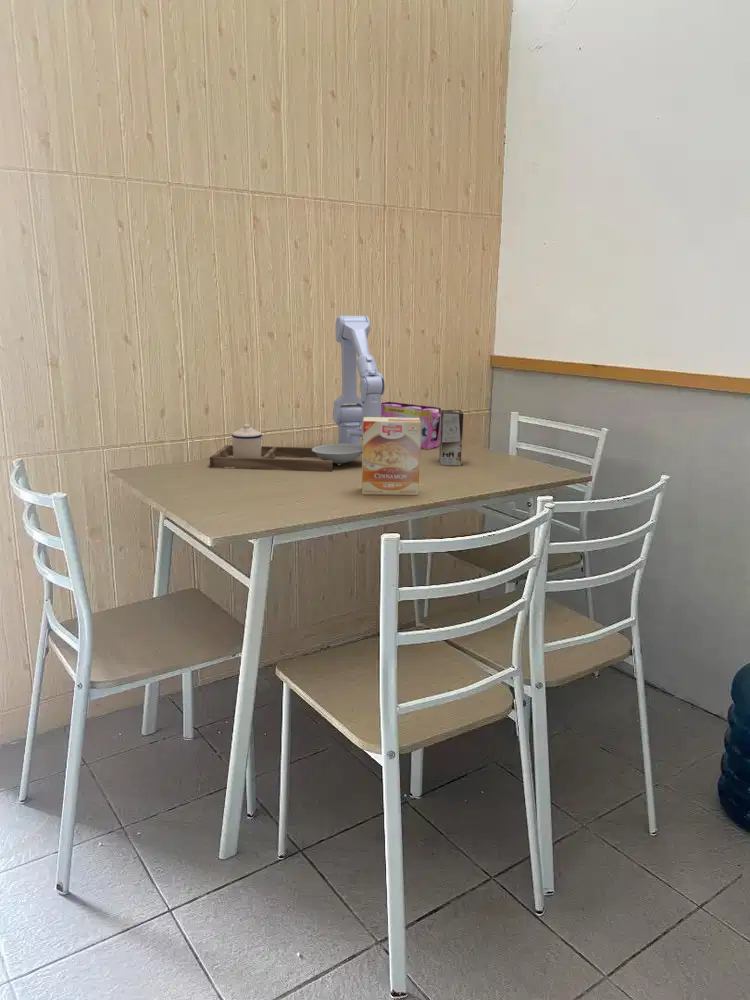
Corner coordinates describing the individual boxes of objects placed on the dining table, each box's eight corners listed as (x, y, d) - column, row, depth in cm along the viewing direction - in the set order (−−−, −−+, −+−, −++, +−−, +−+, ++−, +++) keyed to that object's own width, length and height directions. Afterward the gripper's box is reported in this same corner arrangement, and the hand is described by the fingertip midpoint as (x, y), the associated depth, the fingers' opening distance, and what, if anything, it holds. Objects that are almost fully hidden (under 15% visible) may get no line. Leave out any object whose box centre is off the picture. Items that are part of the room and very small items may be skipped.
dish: (329, 472, 219) (329, 455, 217) (302, 463, 230) (301, 447, 228) (376, 465, 230) (376, 449, 228) (348, 457, 240) (348, 441, 239)
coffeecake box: (361, 494, 195) (362, 420, 190) (361, 488, 202) (362, 416, 197) (419, 495, 196) (421, 421, 190) (417, 488, 202) (419, 416, 197)
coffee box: (461, 465, 231) (464, 413, 227) (440, 465, 231) (442, 413, 227) (458, 459, 240) (461, 409, 235) (438, 459, 240) (440, 408, 236)
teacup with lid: (268, 462, 230) (267, 425, 227) (243, 466, 224) (242, 428, 221) (246, 456, 239) (245, 420, 236) (221, 460, 232) (220, 423, 229)
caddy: (226, 454, 241) (226, 445, 240) (339, 457, 239) (339, 448, 238) (210, 467, 222) (209, 457, 222) (332, 471, 220) (332, 461, 220)
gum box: (443, 447, 260) (445, 408, 256) (430, 450, 254) (432, 410, 250) (388, 438, 274) (389, 401, 270) (375, 441, 268) (375, 403, 264)
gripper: (346, 417, 222) (345, 462, 225) (395, 418, 221) (394, 464, 224) (348, 414, 228) (348, 457, 232) (395, 415, 228) (394, 459, 231)
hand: (370, 460), depth 229 cm, fingers closed
